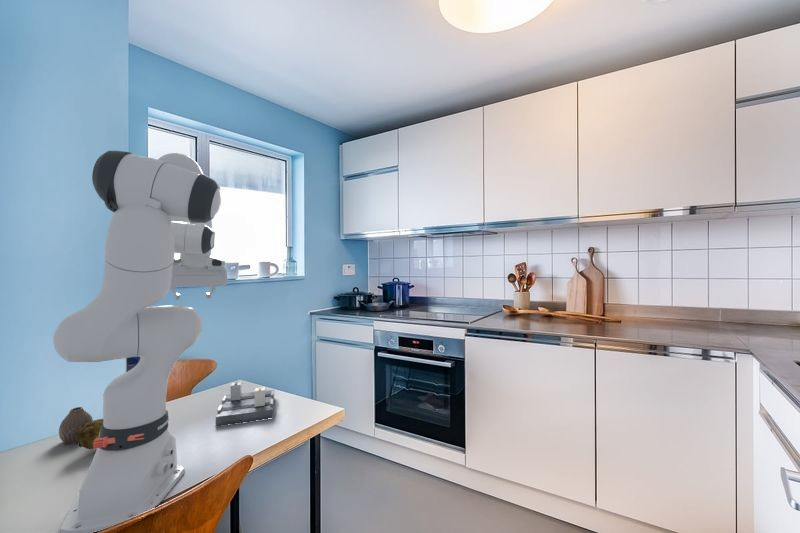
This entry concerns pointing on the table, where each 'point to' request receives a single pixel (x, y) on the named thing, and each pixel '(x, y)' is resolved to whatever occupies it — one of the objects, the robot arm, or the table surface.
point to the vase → (73, 424)
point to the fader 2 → (260, 396)
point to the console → (244, 409)
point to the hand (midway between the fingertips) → (193, 298)
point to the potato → (89, 433)
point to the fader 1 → (236, 391)
